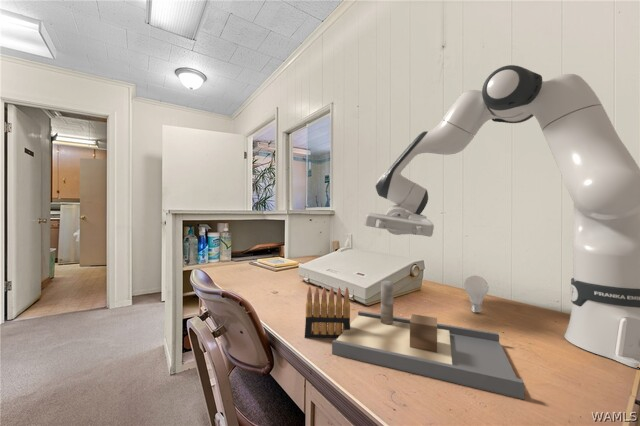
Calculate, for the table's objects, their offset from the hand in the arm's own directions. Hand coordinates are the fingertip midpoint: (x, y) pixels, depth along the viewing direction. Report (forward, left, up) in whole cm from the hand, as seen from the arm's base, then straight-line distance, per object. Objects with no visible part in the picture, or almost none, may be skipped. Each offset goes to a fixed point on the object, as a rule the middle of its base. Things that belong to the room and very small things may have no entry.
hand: (398, 228), depth 75 cm
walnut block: (-8, +19, -23) cm, 31 cm away
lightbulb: (-21, -14, -25) cm, 36 cm away
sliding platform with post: (-2, +17, -24) cm, 29 cm away
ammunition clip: (+13, +20, -26) cm, 35 cm away
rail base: (-7, +17, -25) cm, 31 cm away
